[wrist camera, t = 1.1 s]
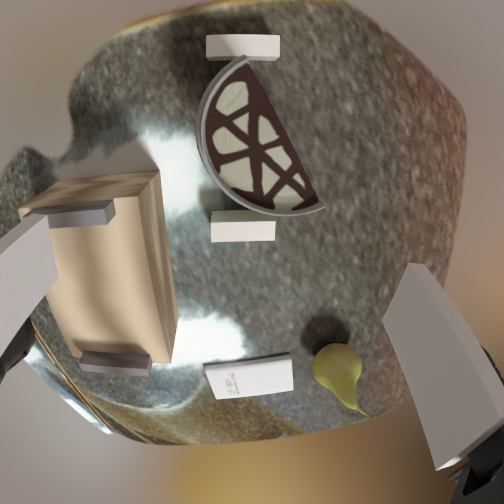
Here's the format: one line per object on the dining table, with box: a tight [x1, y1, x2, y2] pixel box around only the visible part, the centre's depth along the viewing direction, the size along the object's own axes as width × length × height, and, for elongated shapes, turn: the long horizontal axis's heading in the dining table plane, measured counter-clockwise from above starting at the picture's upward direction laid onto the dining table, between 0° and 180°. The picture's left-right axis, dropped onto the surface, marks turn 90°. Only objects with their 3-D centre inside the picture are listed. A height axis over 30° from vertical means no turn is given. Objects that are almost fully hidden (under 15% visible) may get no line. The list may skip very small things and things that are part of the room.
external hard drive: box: [205, 354, 293, 399], centre depth 44 cm, size 2×8×12 cm
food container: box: [195, 55, 325, 216], centre depth 23 cm, size 12×6×10 cm, turn 28°
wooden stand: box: [18, 171, 179, 376], centre depth 28 cm, size 12×18×10 cm, turn 0°
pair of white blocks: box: [206, 34, 280, 242], centre depth 26 cm, size 6×19×3 cm, turn 0°
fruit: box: [312, 343, 375, 419], centre depth 37 cm, size 7×8×12 cm
